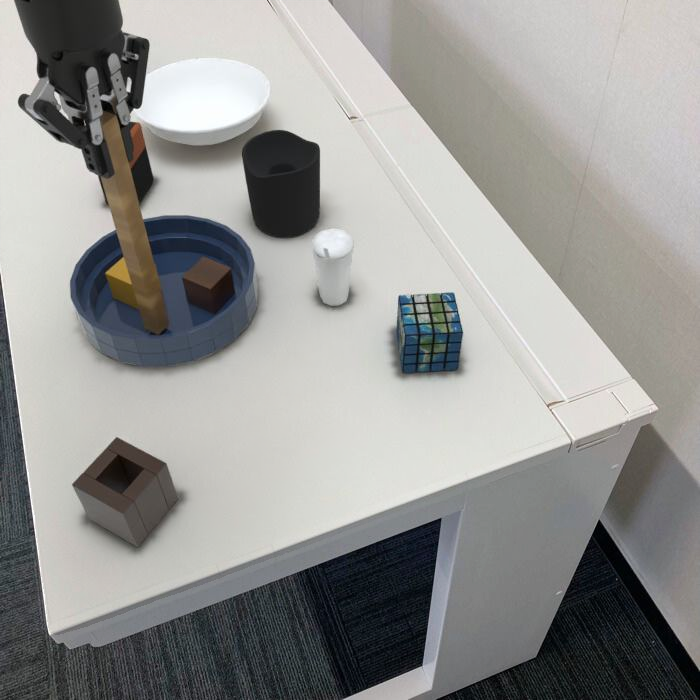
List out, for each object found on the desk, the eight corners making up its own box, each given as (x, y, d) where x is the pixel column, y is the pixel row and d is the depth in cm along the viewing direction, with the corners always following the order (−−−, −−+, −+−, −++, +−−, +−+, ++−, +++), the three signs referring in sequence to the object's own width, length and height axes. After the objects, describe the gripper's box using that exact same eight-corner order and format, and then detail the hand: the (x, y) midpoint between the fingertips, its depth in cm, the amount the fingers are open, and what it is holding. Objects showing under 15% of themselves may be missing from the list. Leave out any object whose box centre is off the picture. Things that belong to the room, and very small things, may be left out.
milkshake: (308, 311, 89) (304, 244, 81) (320, 280, 92) (317, 213, 85) (346, 318, 88) (346, 251, 80) (357, 286, 91) (357, 219, 84)
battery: (155, 180, 106) (140, 115, 98) (136, 210, 101) (118, 144, 94) (125, 176, 106) (108, 111, 99) (105, 206, 102) (85, 141, 94)
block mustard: (139, 310, 88) (132, 284, 85) (113, 298, 89) (104, 272, 86) (162, 289, 90) (155, 263, 87) (135, 277, 92) (128, 252, 89)
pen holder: (315, 190, 104) (312, 125, 96) (329, 234, 98) (326, 168, 90) (246, 200, 102) (237, 134, 95) (255, 245, 96) (246, 179, 89)
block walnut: (215, 314, 88) (210, 289, 85) (187, 302, 89) (181, 276, 86) (235, 293, 90) (231, 267, 87) (208, 281, 91) (202, 256, 88)
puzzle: (402, 373, 82) (404, 335, 78) (396, 332, 86) (398, 294, 82) (457, 370, 83) (463, 332, 78) (449, 329, 87) (454, 291, 82)
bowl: (133, 106, 118) (124, 67, 113) (260, 88, 121) (256, 49, 117) (145, 181, 105) (135, 140, 101) (287, 158, 109) (284, 118, 104)
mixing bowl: (186, 397, 80) (178, 366, 77) (44, 327, 87) (30, 296, 83) (291, 281, 92) (288, 249, 88) (158, 228, 99) (150, 196, 95)
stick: (158, 335, 85) (101, 126, 65) (144, 329, 85) (83, 119, 66) (170, 324, 86) (117, 114, 67) (155, 317, 86) (99, 108, 67)
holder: (138, 547, 69) (123, 514, 65) (89, 519, 71) (71, 484, 66) (178, 498, 72) (166, 463, 68) (130, 472, 74) (116, 436, 70)
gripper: (85, -71, 62) (131, 120, 75) (-51, -6, 54) (27, 195, 67) (158, -53, 60) (193, 141, 73) (27, 17, 52) (92, 221, 65)
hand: (113, 166), depth 70 cm, fingers closed on stick, 2 cm apart
